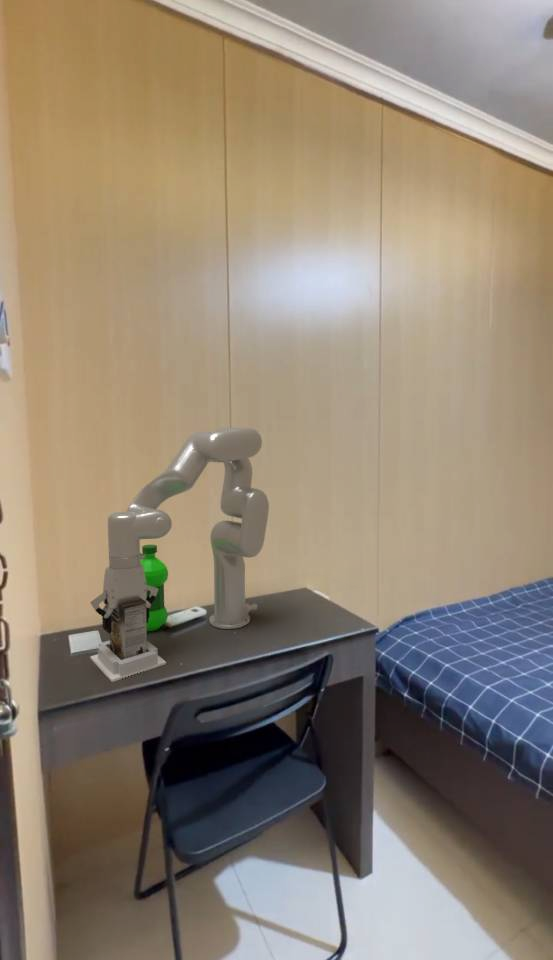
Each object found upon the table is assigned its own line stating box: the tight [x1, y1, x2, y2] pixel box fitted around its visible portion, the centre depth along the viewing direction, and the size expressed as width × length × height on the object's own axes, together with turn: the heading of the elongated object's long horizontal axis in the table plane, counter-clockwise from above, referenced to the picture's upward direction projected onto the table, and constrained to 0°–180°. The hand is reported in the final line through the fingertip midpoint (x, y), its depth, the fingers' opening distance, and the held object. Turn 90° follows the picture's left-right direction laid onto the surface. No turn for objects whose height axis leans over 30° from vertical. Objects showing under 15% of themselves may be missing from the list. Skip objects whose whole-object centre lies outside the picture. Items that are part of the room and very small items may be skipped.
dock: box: [89, 639, 167, 683], centre depth 125 cm, size 14×15×4 cm
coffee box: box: [109, 599, 148, 660], centre depth 124 cm, size 9×6×16 cm
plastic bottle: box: [141, 544, 169, 632], centre depth 145 cm, size 10×10×25 cm
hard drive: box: [67, 630, 103, 658], centre depth 135 cm, size 2×8×12 cm
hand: (126, 626), depth 124 cm, fingers open, 9 cm apart
